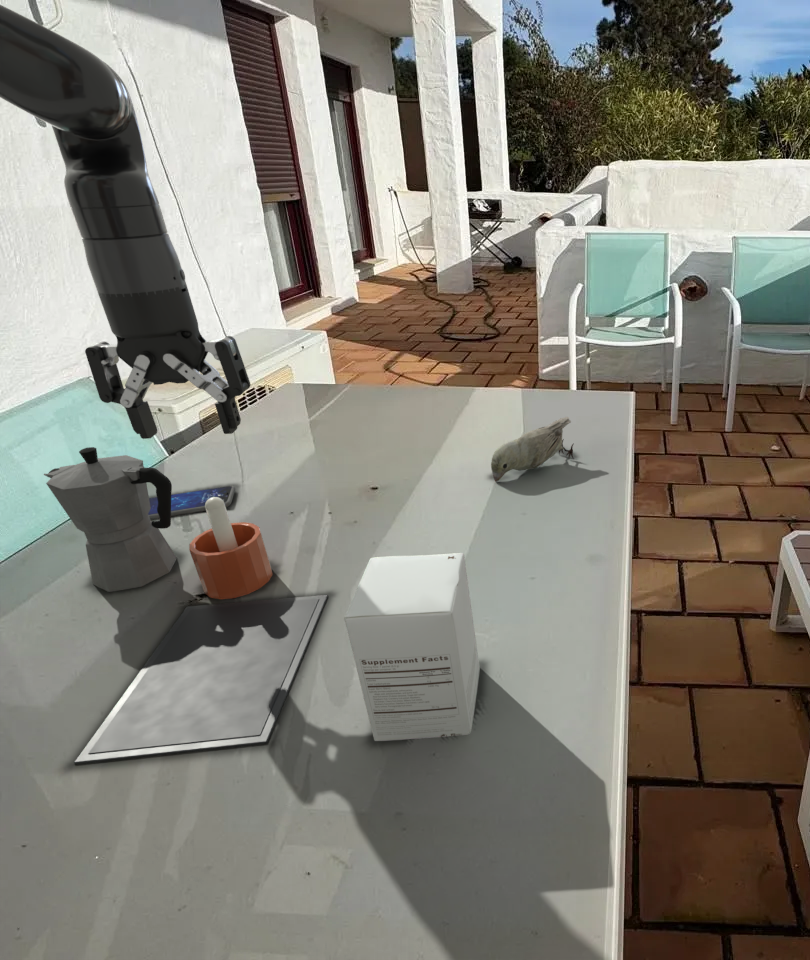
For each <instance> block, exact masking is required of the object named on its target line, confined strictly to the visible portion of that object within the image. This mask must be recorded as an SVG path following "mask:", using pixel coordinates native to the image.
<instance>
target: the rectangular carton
mask: <svg viewBox="0 0 810 960" xmlns="http://www.w3.org/2000/svg"><path fill="white" fill-rule="evenodd" d="M471 600H472V599H471V594H470V586H469V580H468V572H467V565H466V559H465V553H464V552H453V553H438V554H420V555H385V556H376V557H374V556H373V557H370V558H369V561H368V563H367V565H366V567H365V570H364V572H363V575H362V577H361V578H360V580H359V583H358V586H357V587H356V590H355V592H354V594H353V597H352V599H351V601H350V603H349V606H348V608H347V610H346V613H345V615H344V617H343V619H344V623H345V624H344V625H345V628H346V631H347V635H348V638H349V639H348V640H349V644H350V647H351V651H352V656H353V659H354V663H355V667H356V671H357V676H358V680H359V684H360V688H361V692H362V697H363V701H364V705H365V709H366V713H367V716H368V717H367V718H368V720H369V724H370V729H371V732H372V738H373V741H374V742H387V741H402V740H417V739H429V738H430V739H431V738H445V737H457V736H468V735H470V734H471V733H472V728H473V723H474V717H475V710H476V709H475V708H476V701H477V696H478V695H477V694H478V687H479V678H480V671H481V670H480V669H481V667H480V661H479V659H480V658H479V652H478V644H477V639H476V638H477V637H476V630H475V624H474V616H473V609H472V601H471Z"/></svg>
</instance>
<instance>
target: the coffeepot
mask: <svg viewBox="0 0 810 960" xmlns="http://www.w3.org/2000/svg"><path fill="white" fill-rule="evenodd" d="M78 453H79V455H80V456H81V458H82V459H83V460H84V461H82V462H79V463H77V464H71V465H63V466H59V467H57V468H53V469H51V470H49V471H48V473H44V474H43V476H45V477H47V478H49V479H48V481H46V483H45V484H46V486H47V487H48V488H49V490H50V492H51V493H52V494H53V496H54V497H55V499H56V500H57V502H58V503H59V505H60V506H61V507H62V509H63V511H64V512H65V513H66V514H67V516H68V517H69V519H70V521H71V522H72V524H73V525H74V526H75V528H76V529H77V530H79V531H81V532H83V533H84V535H85V539H86V542H85V549H86V554H87V559H88V560H87V561H88V565H89V571H90V574H91V575H90V576H91V581H92V585H93V586H95V587H98V589H100V590H101V589H102V590H103V591H106V592H108V593H111V592H112V593H113V592H117V591H124V590H129V589H130V590H131V589H136V588H141V587H144V586H146V585H147V584H150V583H151V582H154V581H155V580H158V579H159V578H161V577H163V576H165V575H167V574H169V573H170V572H171V570H172V569H173V567H174V564H175V563H176V561H177V559H178V557H177V556H176V554H175V552H174V551H173V549H172V547H171V546H170V544H169V542H168V541H167V539H166V538H165V537H164V535H163V534H162V532H161V531H160V529H161V530H162V529H163V530H164V529H168V528H170V527H171V526H172V516H171V495H172V493H173V490H172V489H173V486H172V482H171V480H170V479H169V478H168V476H166V475H165V474H164V473H162V472H161V471H160V470H159V469H158V468H156V467H145V466H144V460H143V459H139V458H136V457H133V456H131V455H128V454H123V455H116V456H115V455H114V456H106V457H98V451H97V447H93V446H91V447H90V446H89V447H84V448H82V449H80V450H79V451H78ZM147 483H150V484H152V485H153V486H154V487H155V495H156V497H157V500H158V507H157V512H158V514H159V517H160V518H159V520H150V518H149V515H148V513H149V511H150V509H151V507H150V501H149V498H150V496H149V490H148V489H149V488H148V484H147Z"/></svg>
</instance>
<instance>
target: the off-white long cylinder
mask: <svg viewBox="0 0 810 960" xmlns="http://www.w3.org/2000/svg"><path fill="white" fill-rule="evenodd" d="M205 508H206V511H205V512H206V514H207V519H209V524H210V526H211V529H212V530H213V533H214V536H215V539H216V542H217V545H218V548H219V551H220V552H223V551H227V550H231V549H234V548H236V547H238V545H237V542H236V539H235V535H234V532H233V529H232V526H231V523H232V522H231V520H230V516H229V514H228V510H227V507H225V503H224V501H223V500H222V499H220V498H218V497H212V498H210V499H208V500H207V501H206V503H205Z"/></svg>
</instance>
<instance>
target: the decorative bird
mask: <svg viewBox="0 0 810 960" xmlns="http://www.w3.org/2000/svg"><path fill="white" fill-rule="evenodd" d="M571 423H572V421H571V419H570V417H569V416H565V417H560V418H559V419H558V420H555V421H553V422H551V423H549V424H548V425H545V426H542V427H538V428H535V429H532V430H530V431H527V432H526V433H524V434H522V435H521V436H519V437H518V438H516V439H514V440H512V441H507V442H505V443H503V444H501V445H500V446H498V447H497V448H496V449H495V450H494V452H493V454H492V457H491V462H490V468H491V475H492V478H493V480H494V482H495V483H497V482H498V481H499V480H500V479H502V478H503V476H505V474H506V473H508V472H509V471H511V470H515V471H519V472H521V471H522V472H523V471H526V470H534V469H537V468H538V467H540V466H541V465H543V464H544V463H545V462H546V461H548V460H549V459H551V458H552V457H554V456H555V455H556V453H557V452H558V455H559V456H560V453H562V454H563V455H566V456H565V457H567V456H568V458H570V457H571V458H572V459H573V460H574V459H575V457H574V456H573V454H574V450H573V447H574V444H575V443H572V444H571V445H570V448H569V449H566V448H565V446H564V444H563V443H564V439H565V438H563V432H564V431H563V429H565V427H566V426H568V425H569V424H571ZM564 452H567V453H566V454H564Z"/></svg>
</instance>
